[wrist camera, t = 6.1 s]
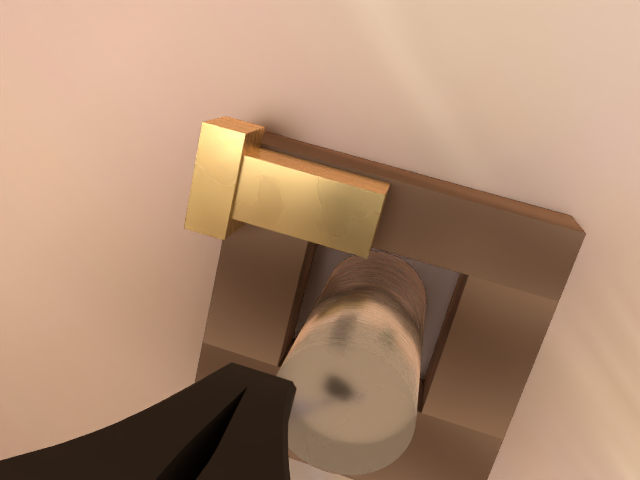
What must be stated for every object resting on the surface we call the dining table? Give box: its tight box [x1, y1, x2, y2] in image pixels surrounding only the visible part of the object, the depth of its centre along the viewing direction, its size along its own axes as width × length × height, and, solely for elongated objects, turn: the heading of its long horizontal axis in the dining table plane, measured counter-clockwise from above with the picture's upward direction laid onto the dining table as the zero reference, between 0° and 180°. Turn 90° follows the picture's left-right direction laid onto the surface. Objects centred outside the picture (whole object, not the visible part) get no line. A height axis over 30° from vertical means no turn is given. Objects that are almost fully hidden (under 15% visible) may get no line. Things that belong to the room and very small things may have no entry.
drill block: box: [195, 132, 586, 480], centre depth 21 cm, size 17×10×2 cm, turn 166°
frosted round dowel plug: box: [276, 251, 426, 475], centre depth 17 cm, size 3×3×7 cm
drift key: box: [184, 117, 391, 258], centre depth 17 cm, size 3×5×2 cm, turn 76°
